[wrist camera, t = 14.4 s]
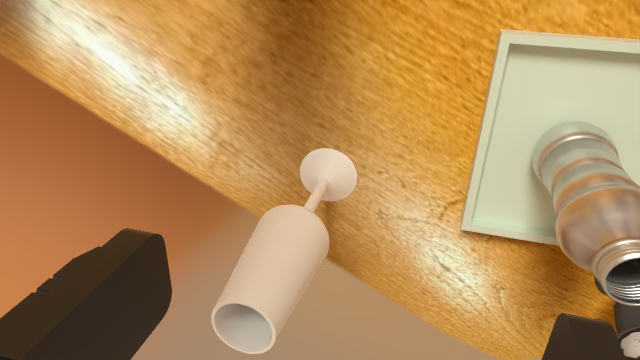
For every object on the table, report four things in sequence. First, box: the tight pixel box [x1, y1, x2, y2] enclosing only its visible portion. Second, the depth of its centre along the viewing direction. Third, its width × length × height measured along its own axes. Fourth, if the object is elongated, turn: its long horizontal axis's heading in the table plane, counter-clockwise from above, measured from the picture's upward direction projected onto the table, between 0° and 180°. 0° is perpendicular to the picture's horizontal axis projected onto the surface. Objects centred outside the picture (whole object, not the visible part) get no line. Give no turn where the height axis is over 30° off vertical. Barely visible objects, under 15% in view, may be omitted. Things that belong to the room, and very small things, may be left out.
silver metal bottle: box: [532, 121, 640, 306], centre depth 35 cm, size 6×7×20 cm
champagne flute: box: [211, 148, 357, 354], centre depth 42 cm, size 7×7×24 cm
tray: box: [461, 29, 640, 246], centre depth 43 cm, size 20×16×2 cm
